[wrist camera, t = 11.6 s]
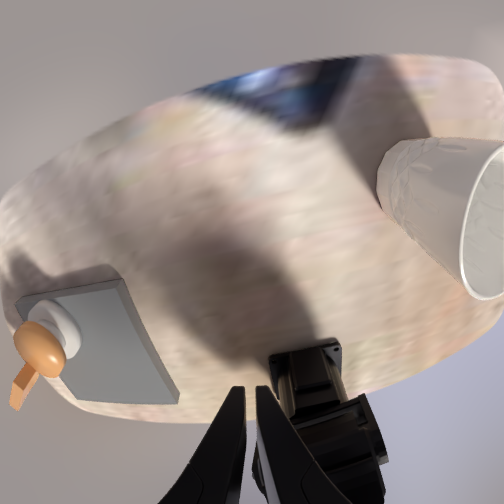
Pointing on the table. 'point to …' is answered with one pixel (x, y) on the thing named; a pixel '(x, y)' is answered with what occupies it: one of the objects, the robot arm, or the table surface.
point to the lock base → (102, 344)
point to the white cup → (450, 205)
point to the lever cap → (35, 359)
